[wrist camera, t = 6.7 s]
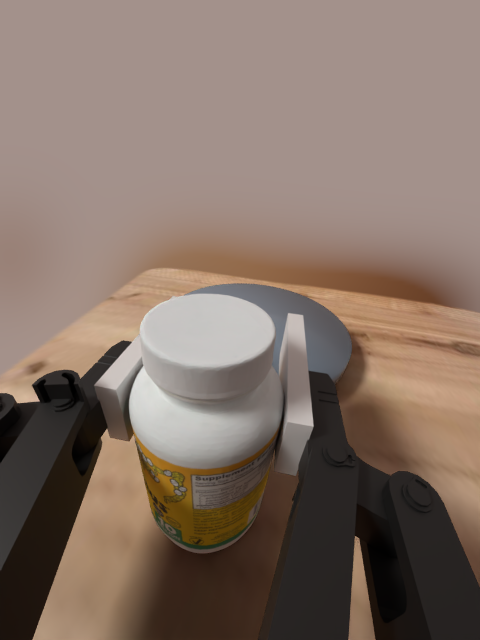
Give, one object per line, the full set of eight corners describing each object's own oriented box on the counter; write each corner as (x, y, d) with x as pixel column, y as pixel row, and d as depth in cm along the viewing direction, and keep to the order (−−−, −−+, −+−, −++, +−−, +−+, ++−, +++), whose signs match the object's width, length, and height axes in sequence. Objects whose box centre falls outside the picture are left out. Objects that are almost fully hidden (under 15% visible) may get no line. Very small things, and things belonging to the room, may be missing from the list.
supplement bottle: (280, 526, 11) (343, 364, 6) (155, 583, 10) (105, 419, 5) (239, 425, 16) (256, 279, 11) (146, 451, 14) (114, 290, 9)
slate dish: (308, 300, 31) (312, 285, 30) (384, 410, 18) (396, 390, 16) (173, 297, 29) (172, 281, 28) (141, 418, 16) (137, 396, 14)
